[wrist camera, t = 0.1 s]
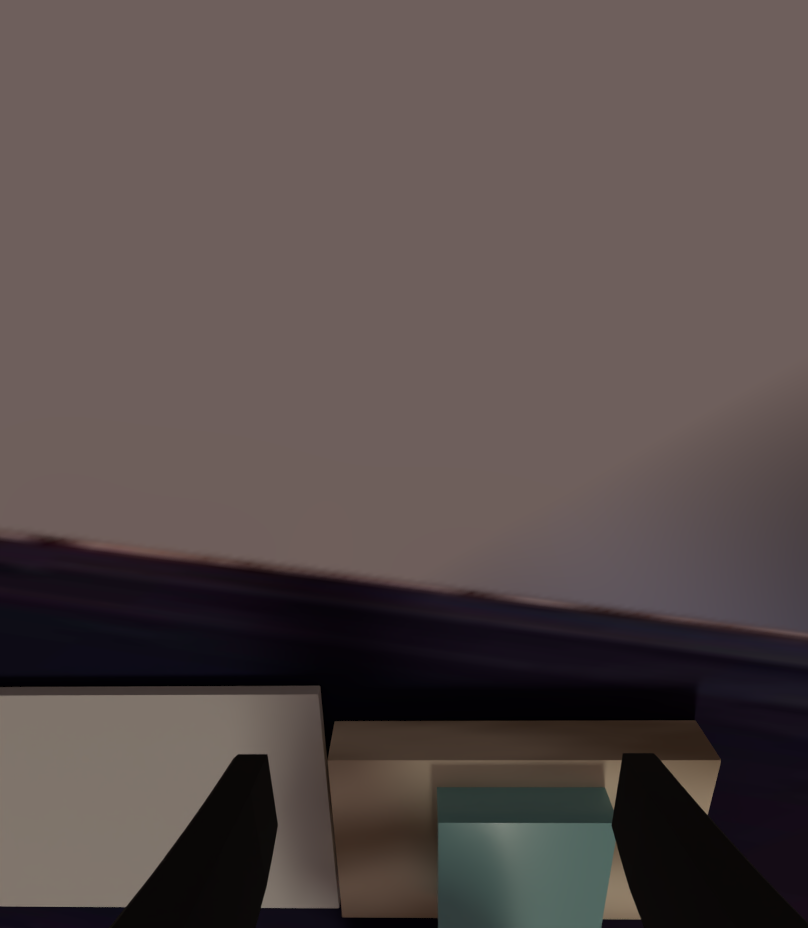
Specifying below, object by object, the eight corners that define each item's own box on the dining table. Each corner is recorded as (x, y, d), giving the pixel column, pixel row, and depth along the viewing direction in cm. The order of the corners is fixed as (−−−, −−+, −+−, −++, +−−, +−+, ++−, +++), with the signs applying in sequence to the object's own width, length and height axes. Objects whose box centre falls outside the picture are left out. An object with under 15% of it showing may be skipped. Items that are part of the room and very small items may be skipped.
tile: (588, 897, 23) (599, 937, 22) (436, 897, 24) (438, 936, 22) (604, 787, 21) (618, 823, 20) (436, 787, 21) (438, 822, 20)
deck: (661, 873, 26) (681, 919, 24) (347, 871, 26) (342, 917, 24) (695, 720, 22) (721, 760, 21) (334, 721, 23) (327, 760, 21)
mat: (340, 897, 27) (339, 908, 26) (-31, 895, 27) (-39, 905, 27) (320, 685, 22) (318, 694, 22) (-127, 687, 23) (-139, 696, 22)
